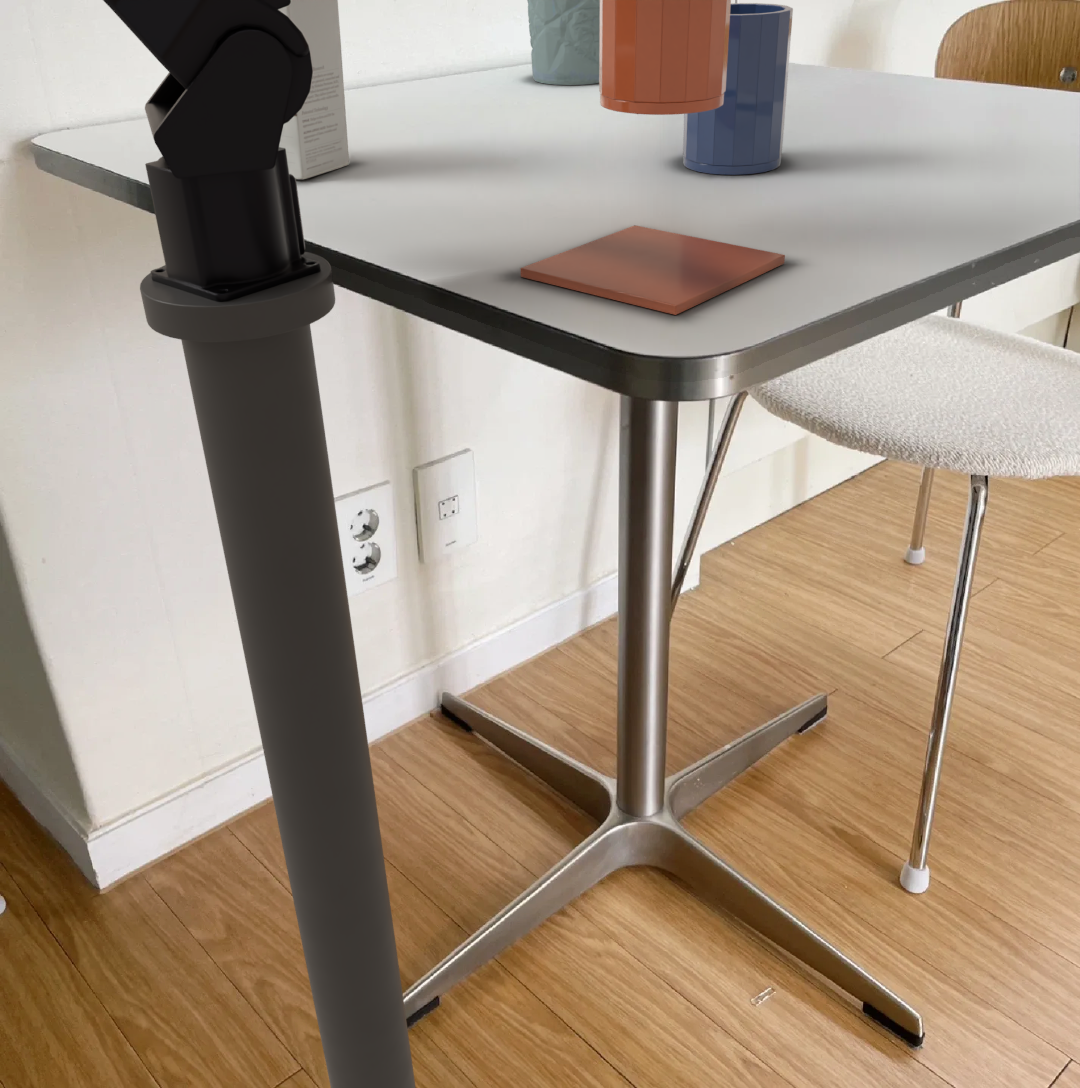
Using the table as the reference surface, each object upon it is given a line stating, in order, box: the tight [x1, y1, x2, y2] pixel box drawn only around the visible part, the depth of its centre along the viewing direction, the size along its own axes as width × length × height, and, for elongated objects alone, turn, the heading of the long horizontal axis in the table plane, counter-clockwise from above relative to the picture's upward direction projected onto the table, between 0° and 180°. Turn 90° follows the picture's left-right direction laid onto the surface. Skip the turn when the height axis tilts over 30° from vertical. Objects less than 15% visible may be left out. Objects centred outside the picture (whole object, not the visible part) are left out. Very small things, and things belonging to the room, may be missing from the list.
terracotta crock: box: [598, 0, 732, 116], centre depth 61 cm, size 7×7×10 cm
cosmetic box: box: [278, 0, 350, 180], centre depth 80 cm, size 8×6×15 cm
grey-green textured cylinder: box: [526, 0, 600, 86], centre depth 112 cm, size 10×10×12 cm
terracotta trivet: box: [519, 225, 786, 316], centre depth 61 cm, size 10×10×1 cm
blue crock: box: [682, 2, 794, 176], centre depth 79 cm, size 7×7×10 cm
